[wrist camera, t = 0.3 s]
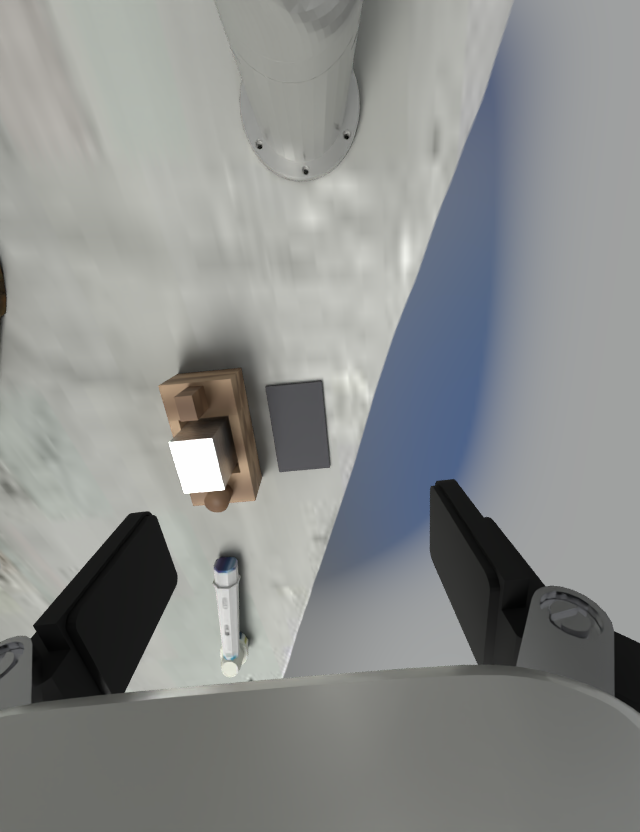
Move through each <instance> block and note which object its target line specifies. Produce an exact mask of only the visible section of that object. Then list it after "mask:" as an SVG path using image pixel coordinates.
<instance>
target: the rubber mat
mask: <svg viewBox="0 0 640 832" xmlns="http://www.w3.org/2000/svg"><path fill="white" fill-rule="evenodd" d="M266 394H267V400H268V406H269V412H270V418H271V424H272V430H273V436H274V442H275V449H276V455H277V461H278V467H279V472H286V471H297V470H308V469H320V468H330V464H329V454H328V443H327V433H326V423H325V412H324V402H323V391H322V381H317V382H306V383H295V384H285V385H274V386H266Z"/></svg>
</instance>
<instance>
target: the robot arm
mask: <svg viewBox="0 0 640 832" xmlns="http://www.w3.org/2000/svg"><path fill="white" fill-rule="evenodd" d="M214 2H215V5H216V8H217V11H218V14H219V17H220V20H221V23H222V25H223V28H224V31H225V34H226V37H227V39H228V42H229V45H230V48H231V51H232V54H233V56H234V59H235V62H236V65H237V68H238V71H239V73H240V76H241V79H242V81H241V87H240V99H239V100H240V114H241V119H242V123H243V128H244V131H245V133H246V136H247V138H248V141H249V143H250V145H251V147H252V149H253V151H254V152H255V154H256V155H257V156H258V158H259V159H260V161H261V162H262V163H263V164H264V165H265V166H266V167H267V168H268V169H269V170H271V171H272V172H274V173H275V174H277V175H278V176H280V177H283V178H285V179H288V180H292V181H298V182H301V181H311V180H315V179H318V178H321V177H322V176H324V175H326V174H328V173H330V172H331V171H332V170H333V169H334V168H335V167H337V166H338V165H339V163H340V162H341V161H342V160H343V158H344V157H345V156H346V154H347V152H348V150H349V148H350V147H351V145H352V142H353V139H354V136H355V133H356V129H357V125H358V120H359V111H360V99H359V89H358V84H357V79H356V76H355V73H354V70H353V67H352V66H353V60H354V54H355V48H356V42H357V35H358V29H359V23H360V17H361V11H362V5H363V0H214ZM344 136H348V140H346V139H344ZM260 145H261V146H262V149H260V150H259V149H258V147H259V146H260ZM305 170H306V171H308V174H307V175H305V174H304V171H305ZM430 553H431V558H432V561H433V563H434V566H435V568H436V570H437V573H438V575H439V577H440V579H441V582H442V584H443V586H444V588H445V591H446V593H447V595H448V598H449V600H450V602H451V605H452V607H453V609H454V611H455V614H456V616H457V618H458V620H459V623H460V625H461V627H462V630H463V632H464V634H465V636H466V639H467V641H468V643H469V645H470V648H471V650H472V652H473V655H474V657H475V659H476V661H477V663H478V665H454V666H438V667H422V668H406V669H392V670H380V671H367V672H355V673H343V674H330V675H318V676H307V677H295V678H283V679H271V680H260V681H248V682H237V683H226V684H214V685H203V686H192V687H181V688H171V689H160V690H149V691H139V692H128V693H124V692H125V690H126V688H127V686H128V684H129V682H130V680H131V678H132V676H133V674H134V672H135V670H136V668H137V666H138V664H139V661H140V659H141V657H142V655H143V653H144V651H145V649H146V647H147V645H148V643H149V641H150V639H151V637H152V635H153V633H154V631H155V628H156V626H157V624H158V622H159V620H160V618H161V616H162V614H163V612H164V610H165V608H166V606H167V604H168V602H169V600H170V598H171V595H172V593H173V591H174V589H175V587H176V585H177V579H178V578H177V572H176V570H175V567H174V564H173V561H172V558H171V556H170V553H169V550H168V547H167V544H166V542H165V539H164V536H163V533H162V530H161V528H160V525H159V522H158V519H157V517H156V516H155V515H152V514H151V513H150V512H148V511H147V512H137V513H131V514H129V515H128V516H127V517H126V518H125V519H124V521H123V522H122V523H121V524H120V525H119V526H118V527H117V529H116V530H115V531H114V532H113V533H112V534H111V536H110V537H109V538H108V539H107V540H106V541H105V543H104V544H103V545H102V546H101V547H100V548H99V550H98V551H97V552H96V553H95V554H94V555H93V557H92V558H91V559H90V560H89V561H88V562H87V563H86V565H85V566H84V567H83V568H82V569H81V570H80V572H79V573H78V574H77V575H76V576H75V577H74V579H73V580H72V581H71V582H70V583H69V584H68V586H67V587H66V588H65V589H64V590H63V591H62V593H61V594H60V595H59V596H58V597H57V598H56V599H55V601H54V602H53V603H52V604H51V605H50V606H49V608H48V609H47V610H46V611H45V612H44V613H43V615H42V616H41V617H40V618H39V619H38V620H37V622H36V623H35V624H34V625H33V627H34V628H35V630H36V633H35V634H34V635H33V637H32V638H29V637H27V636H16V637H12V638H8V639H6V640H4V641H2V642H0V832H640V643H638V642H636V641H634V640H632V639H630V638H628V637H625V636H623V635H621V634H619V633H617V632H615V631H614V629H613V625H612V622H611V620H610V619H609V617H608V616H607V614H606V613H605V612H604V611H603V610H602V609H601V608H600V607H599V606H598V605H597V604H596V603H595V602H593V601H592V600H591V599H589V598H588V597H586V596H585V595H582V594H580V593H578V592H576V591H574V590H571V589H567V588H564V587H560V586H545V585H544V584H543V583H542V582H541V580H540V579H539V578H538V576H537V575H536V574H535V572H534V571H533V570H532V569H531V568H530V566H529V565H528V564H527V562H526V561H525V560H524V559H523V557H522V556H521V555H520V553H519V552H518V551H517V550H516V549H515V547H514V546H513V545H512V543H511V542H510V541H509V540H508V539H507V537H506V536H505V535H504V533H503V532H502V531H501V529H500V528H499V527H498V526H497V524H496V523H495V522H494V521H493V520H492V519H491V518H489V517H485V518H484V517H483V516H482V515H481V513H480V512H479V511H478V509H477V508H476V507H475V505H474V504H473V503H472V501H471V500H470V499H469V497H468V496H467V495H466V494H465V492H464V491H463V490H462V488H461V487H460V486H459V484H458V483H457V482H456V481H455V480H454V479H451V480H442V481H436V483H435V486H431V488H430Z"/></svg>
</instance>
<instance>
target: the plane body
mask: <svg viewBox="0 0 640 832" xmlns="http://www.w3.org/2000/svg"><path fill="white" fill-rule="evenodd" d="M159 390H160V393H161V397H162V400H163V403H164V407H165V410H166V414H167V417H168V421H169V424H170V427H171V431H172V434H173V438H174V437H175V435H176V434H177V433H178V432H179V431H180V430H181V429H182V428H183V427H184V426H185V425H186V424H187V423H188V422H189V421H194V420H199V418H209V417H220V416H228V417H229V422H230V426H231V431H232V435H233V440H234V445H235V449H236V454H237V459H238V461H237V463H236V466H235V468H234V470H233V472H232V474H231V477H230V479H229V481H228V483H227V485H226V487H225V490H217V491H205V492H194V493H190V496H191V500H192V503H193V506H199V505H205V506H206V507H207V508H208V509H209V510H210V511H212V512H222V511H224V510H226V509H227V507H228V505H229V503H234V502H246V501H255V500H256V497H257V493H258V490H259V486H260V483H261V479H262V475H261V470H260V465H259V459H258V454H257V449H256V443H255V438H254V433H253V428H252V422H251V417H250V412H249V406H248V401H247V396H246V390H245V385H244V380H243V374H242V369H241V368H234V369H223V370H213V371H203V372H192V373H182V374H177V375H175V376H174V377H172V378H170V379H169V380H167V381H165V382H164V383H162V384H160V385H159Z"/></svg>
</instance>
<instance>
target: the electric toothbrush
mask: <svg viewBox="0 0 640 832" xmlns="http://www.w3.org/2000/svg"><path fill="white" fill-rule="evenodd" d="M214 578H215V579H214V581H213V586H214V587H215V589H216V598H217V606H218V614H219V623H220V631H221V640H222V646H221V649H220V658H221V659H222V661H221V669H222V673H223V674H224V675H225V676H227V677H234V676H235V675H237V673H238V672H239V670H240V668H241V665H242V664H244V663H245V661H246V659H247V658H248V639H247V638H246V636H245V634H243V633H241V632H239V581H240V575H239V574H238V560H237V559H236V558H235V557H221V558H219V559H217V560H216V562H215V564H214Z"/></svg>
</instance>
